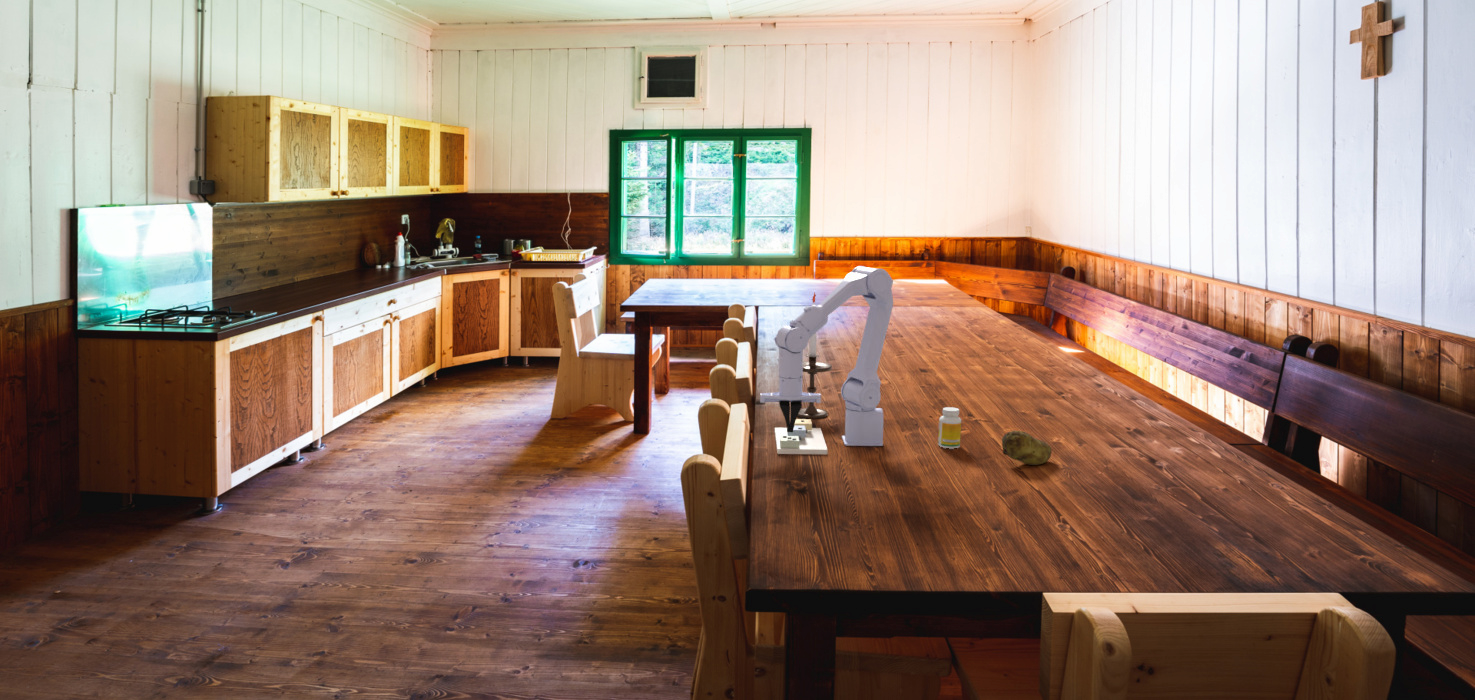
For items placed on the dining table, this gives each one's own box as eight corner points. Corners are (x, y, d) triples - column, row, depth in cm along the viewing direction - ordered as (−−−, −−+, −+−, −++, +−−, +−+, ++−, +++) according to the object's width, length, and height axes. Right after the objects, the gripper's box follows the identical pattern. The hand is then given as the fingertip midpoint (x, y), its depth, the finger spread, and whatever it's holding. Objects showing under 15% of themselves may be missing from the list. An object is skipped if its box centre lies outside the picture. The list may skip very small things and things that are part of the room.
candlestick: (832, 419, 247) (835, 294, 241) (793, 419, 247) (795, 293, 241) (828, 410, 258) (831, 290, 252) (791, 410, 258) (793, 289, 252)
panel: (820, 432, 234) (820, 424, 233) (827, 454, 214) (827, 445, 213) (774, 432, 234) (774, 423, 233) (777, 453, 214) (777, 444, 214)
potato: (1061, 468, 204) (1063, 434, 203) (1007, 469, 203) (1009, 435, 202) (1045, 458, 212) (1047, 425, 211) (993, 459, 211) (995, 426, 210)
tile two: (804, 432, 225) (804, 424, 225) (805, 436, 221) (805, 429, 220) (786, 431, 225) (786, 424, 225) (787, 436, 221) (787, 429, 220)
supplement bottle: (933, 444, 223) (935, 407, 221) (952, 442, 225) (954, 405, 223) (945, 450, 218) (947, 412, 216) (964, 448, 220) (966, 410, 218)
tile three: (798, 442, 219) (798, 435, 218) (799, 447, 214) (799, 440, 214) (779, 442, 219) (779, 435, 219) (780, 447, 214) (780, 439, 214)
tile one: (810, 425, 231) (810, 418, 231) (811, 430, 227) (812, 422, 227) (793, 425, 231) (793, 418, 231) (794, 429, 227) (794, 422, 227)
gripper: (819, 373, 218) (818, 427, 220) (760, 372, 218) (759, 426, 220) (821, 379, 211) (820, 434, 213) (760, 378, 211) (760, 434, 213)
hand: (790, 431), depth 216 cm, fingers closed
